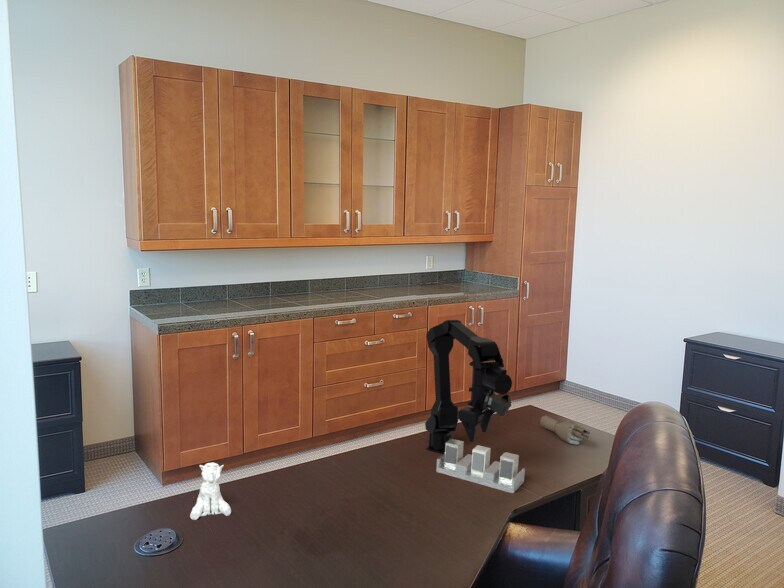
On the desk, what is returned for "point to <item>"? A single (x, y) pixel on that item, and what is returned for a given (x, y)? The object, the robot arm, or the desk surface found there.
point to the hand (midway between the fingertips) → (478, 436)
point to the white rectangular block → (480, 459)
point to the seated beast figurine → (210, 494)
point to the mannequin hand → (565, 430)
